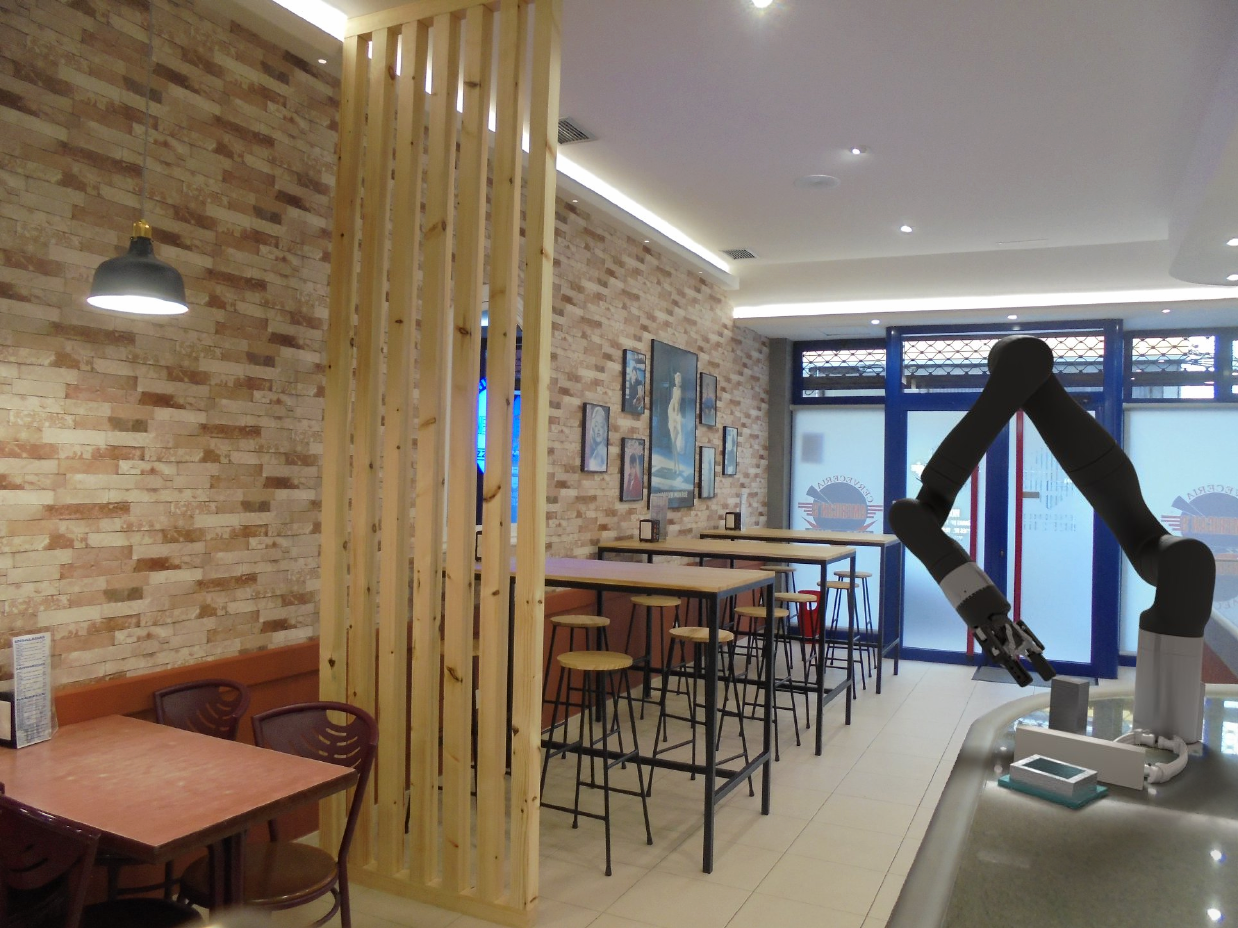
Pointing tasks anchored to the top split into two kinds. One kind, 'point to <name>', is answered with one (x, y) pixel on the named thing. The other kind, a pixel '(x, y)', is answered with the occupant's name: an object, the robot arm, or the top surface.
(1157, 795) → the top surface
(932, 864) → the top surface
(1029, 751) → the door edge
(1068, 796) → the keeper
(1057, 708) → the block
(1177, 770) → the door handle
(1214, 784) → the top surface
